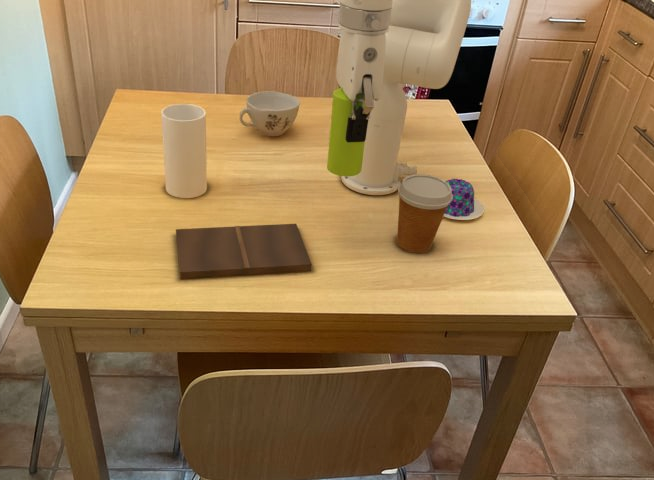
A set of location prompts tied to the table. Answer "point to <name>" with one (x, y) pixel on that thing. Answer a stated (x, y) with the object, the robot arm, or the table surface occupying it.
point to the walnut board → (241, 251)
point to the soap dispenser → (343, 138)
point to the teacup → (271, 112)
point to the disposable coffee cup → (421, 211)
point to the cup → (184, 150)
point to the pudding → (463, 201)
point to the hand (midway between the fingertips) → (349, 131)
